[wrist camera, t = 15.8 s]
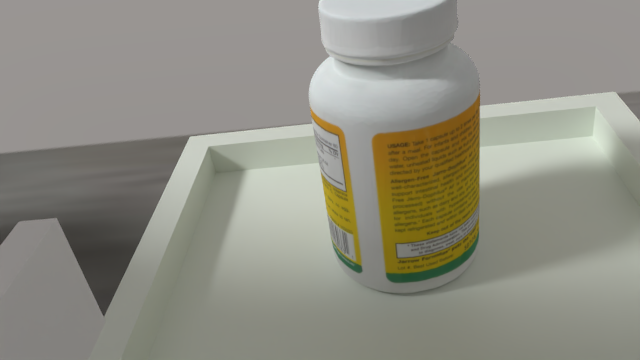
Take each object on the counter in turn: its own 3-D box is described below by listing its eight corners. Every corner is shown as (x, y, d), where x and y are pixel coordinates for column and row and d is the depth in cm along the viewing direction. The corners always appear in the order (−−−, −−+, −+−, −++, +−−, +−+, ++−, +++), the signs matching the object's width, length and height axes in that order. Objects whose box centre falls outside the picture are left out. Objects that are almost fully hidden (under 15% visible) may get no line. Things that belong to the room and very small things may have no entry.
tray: (85, 475, 18) (53, 422, 16) (202, 179, 31) (190, 136, 30) (828, 449, 15) (861, 385, 14) (608, 139, 29) (614, 91, 27)
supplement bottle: (309, 277, 22) (256, 22, 17) (371, 196, 26) (343, -33, 21) (452, 317, 19) (440, 29, 14) (498, 220, 23) (502, -35, 18)
